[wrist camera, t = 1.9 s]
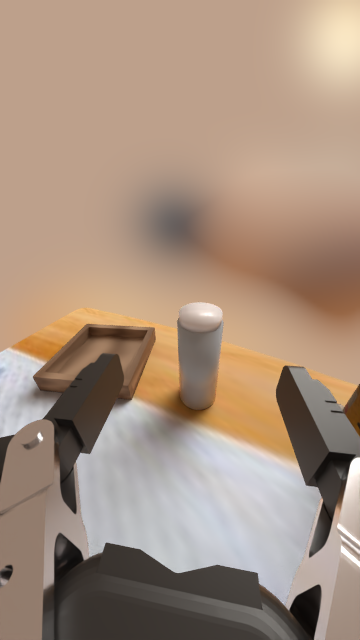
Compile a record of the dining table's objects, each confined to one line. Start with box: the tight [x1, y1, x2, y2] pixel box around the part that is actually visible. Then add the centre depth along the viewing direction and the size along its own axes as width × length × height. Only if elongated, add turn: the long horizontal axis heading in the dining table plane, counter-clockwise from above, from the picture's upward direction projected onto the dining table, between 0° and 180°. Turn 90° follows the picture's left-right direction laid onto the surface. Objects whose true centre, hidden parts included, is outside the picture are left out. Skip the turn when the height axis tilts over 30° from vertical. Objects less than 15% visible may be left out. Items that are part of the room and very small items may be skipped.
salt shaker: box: [177, 302, 223, 410], centre depth 24 cm, size 5×5×13 cm
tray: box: [33, 324, 156, 400], centre depth 33 cm, size 14×14×3 cm
